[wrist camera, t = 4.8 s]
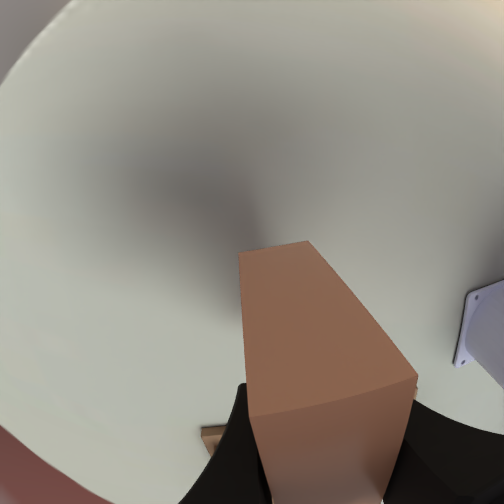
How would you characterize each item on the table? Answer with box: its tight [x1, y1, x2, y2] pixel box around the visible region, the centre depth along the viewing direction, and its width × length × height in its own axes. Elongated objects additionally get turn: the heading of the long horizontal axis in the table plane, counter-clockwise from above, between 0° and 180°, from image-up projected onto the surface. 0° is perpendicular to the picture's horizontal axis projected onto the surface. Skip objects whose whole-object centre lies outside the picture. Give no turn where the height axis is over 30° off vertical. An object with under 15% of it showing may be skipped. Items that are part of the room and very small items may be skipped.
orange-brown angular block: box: [238, 241, 418, 504], centre depth 10 cm, size 3×8×9 cm, turn 9°
